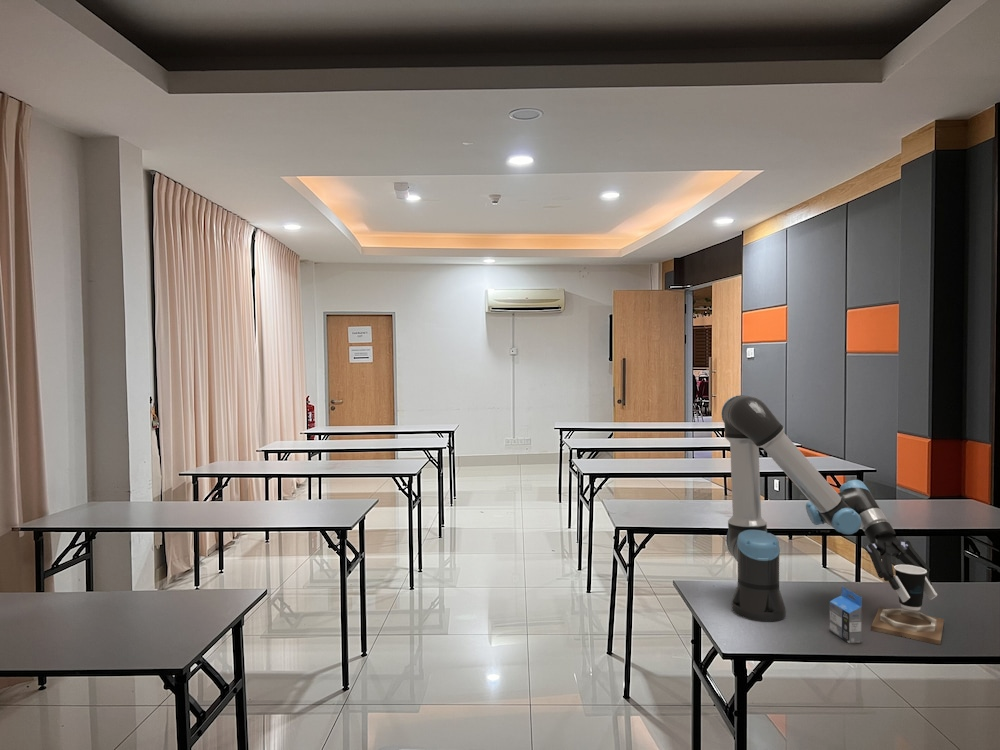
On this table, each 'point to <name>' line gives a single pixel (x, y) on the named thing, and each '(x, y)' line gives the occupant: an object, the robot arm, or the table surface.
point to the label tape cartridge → (846, 616)
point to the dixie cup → (912, 585)
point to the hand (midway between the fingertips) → (920, 598)
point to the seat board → (908, 624)
